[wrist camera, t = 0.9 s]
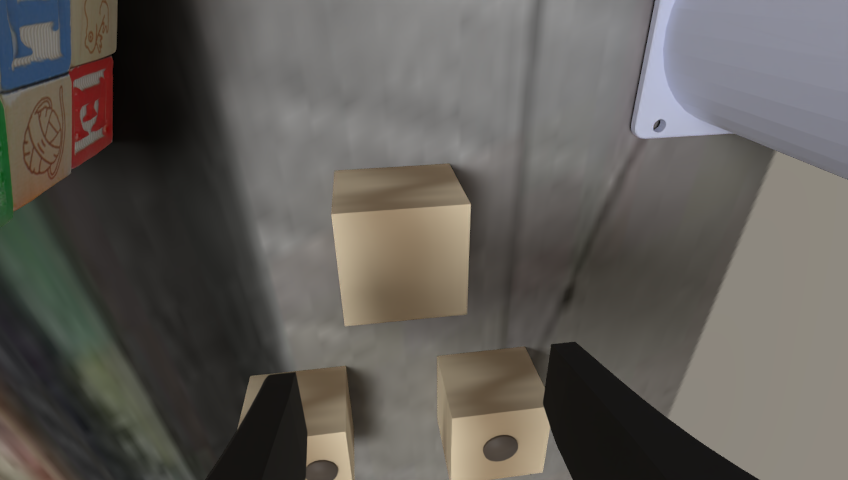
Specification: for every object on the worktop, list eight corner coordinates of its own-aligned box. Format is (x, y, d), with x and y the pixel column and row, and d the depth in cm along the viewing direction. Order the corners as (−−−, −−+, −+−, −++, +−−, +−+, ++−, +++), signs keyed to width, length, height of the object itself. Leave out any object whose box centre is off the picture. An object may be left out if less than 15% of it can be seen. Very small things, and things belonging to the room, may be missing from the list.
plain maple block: (448, 162, 19) (470, 204, 16) (447, 259, 21) (466, 314, 18) (334, 169, 19) (331, 214, 15) (345, 267, 21) (344, 326, 17)
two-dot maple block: (345, 364, 23) (345, 434, 20) (353, 427, 26) (354, 501, 22) (250, 374, 23) (232, 448, 19) (267, 438, 25) (253, 515, 21)
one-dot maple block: (524, 345, 24) (554, 408, 21) (517, 407, 27) (543, 474, 23) (436, 354, 24) (452, 421, 20) (437, 417, 26) (451, 487, 22)
